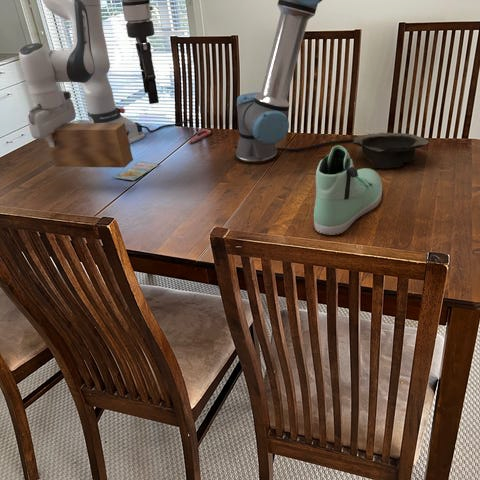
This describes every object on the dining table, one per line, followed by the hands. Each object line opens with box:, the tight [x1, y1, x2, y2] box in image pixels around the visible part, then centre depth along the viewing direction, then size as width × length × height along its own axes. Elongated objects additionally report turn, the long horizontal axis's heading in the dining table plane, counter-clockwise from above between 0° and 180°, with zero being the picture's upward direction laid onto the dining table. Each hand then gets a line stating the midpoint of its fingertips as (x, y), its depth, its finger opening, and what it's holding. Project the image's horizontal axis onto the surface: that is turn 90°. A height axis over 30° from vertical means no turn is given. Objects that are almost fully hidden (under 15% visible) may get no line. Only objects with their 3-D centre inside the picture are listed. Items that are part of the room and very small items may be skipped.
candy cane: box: [188, 128, 212, 145], centre depth 200 cm, size 6×15×2 cm, turn 145°
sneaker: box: [313, 145, 383, 236], centre depth 133 cm, size 14×35×20 cm, turn 152°
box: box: [45, 122, 134, 169], centre depth 155 cm, size 26×6×13 cm, turn 75°
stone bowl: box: [352, 132, 430, 170], centre depth 165 cm, size 25×25×9 cm
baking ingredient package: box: [114, 161, 159, 181], centre depth 173 cm, size 9×1×15 cm
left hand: (60, 142), depth 157 cm, fingers closed on box, 6 cm apart
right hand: (151, 97), depth 145 cm, fingers open, 13 cm apart
